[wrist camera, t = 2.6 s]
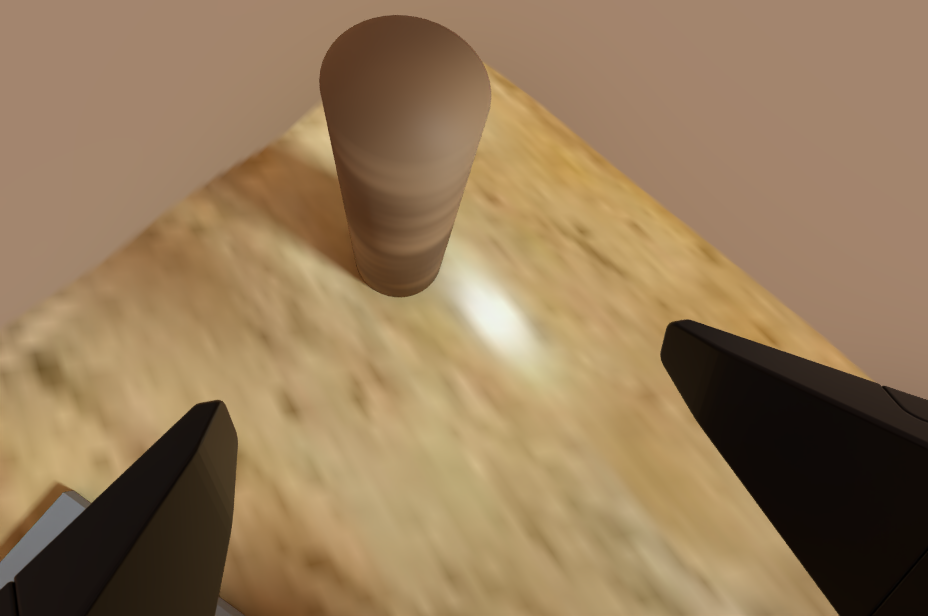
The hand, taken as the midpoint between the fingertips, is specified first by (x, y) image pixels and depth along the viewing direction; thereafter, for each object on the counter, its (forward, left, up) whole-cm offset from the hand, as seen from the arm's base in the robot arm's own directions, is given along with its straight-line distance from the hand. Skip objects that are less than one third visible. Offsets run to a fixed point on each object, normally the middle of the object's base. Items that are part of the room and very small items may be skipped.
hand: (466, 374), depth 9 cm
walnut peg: (+5, -6, -14) cm, 16 cm away
